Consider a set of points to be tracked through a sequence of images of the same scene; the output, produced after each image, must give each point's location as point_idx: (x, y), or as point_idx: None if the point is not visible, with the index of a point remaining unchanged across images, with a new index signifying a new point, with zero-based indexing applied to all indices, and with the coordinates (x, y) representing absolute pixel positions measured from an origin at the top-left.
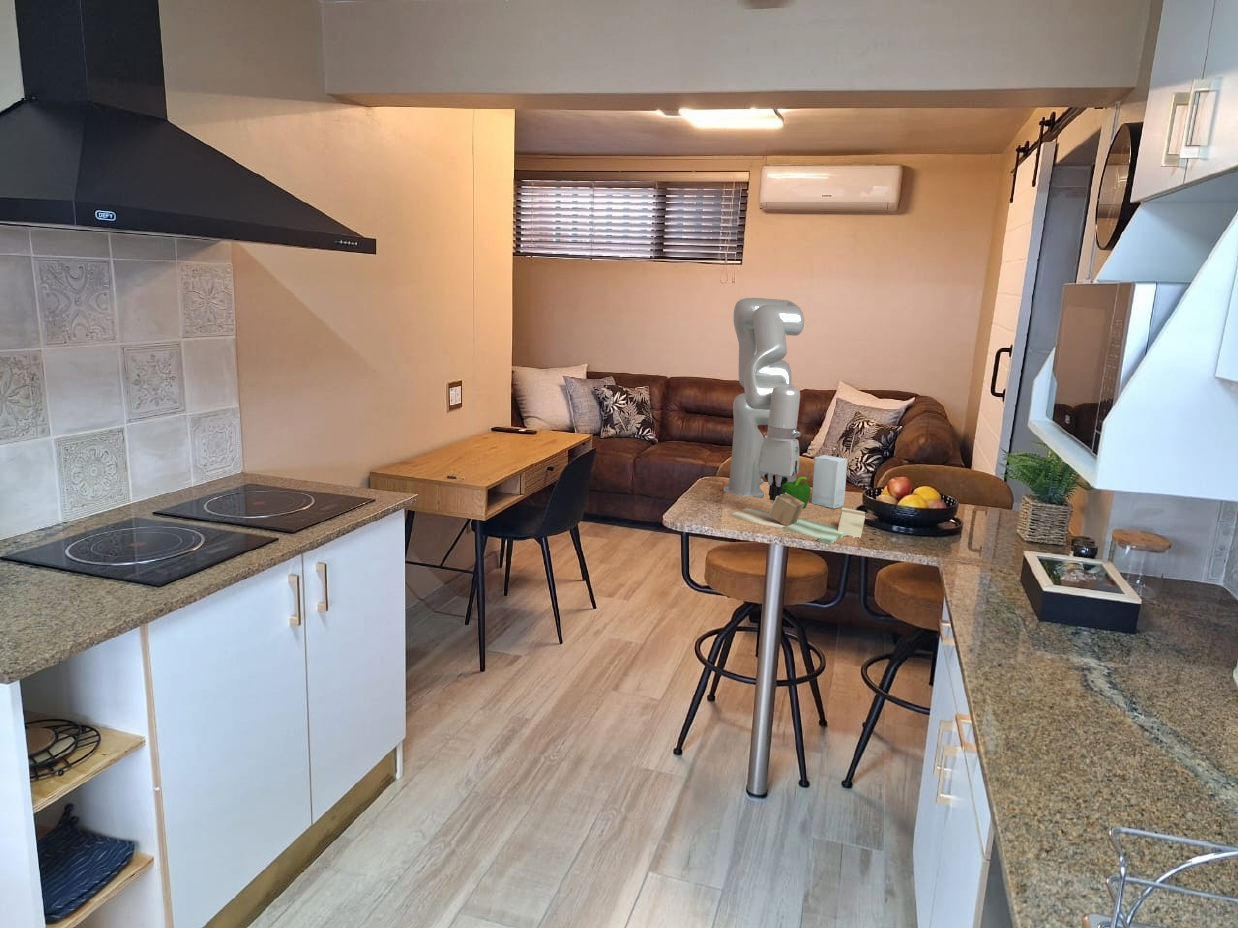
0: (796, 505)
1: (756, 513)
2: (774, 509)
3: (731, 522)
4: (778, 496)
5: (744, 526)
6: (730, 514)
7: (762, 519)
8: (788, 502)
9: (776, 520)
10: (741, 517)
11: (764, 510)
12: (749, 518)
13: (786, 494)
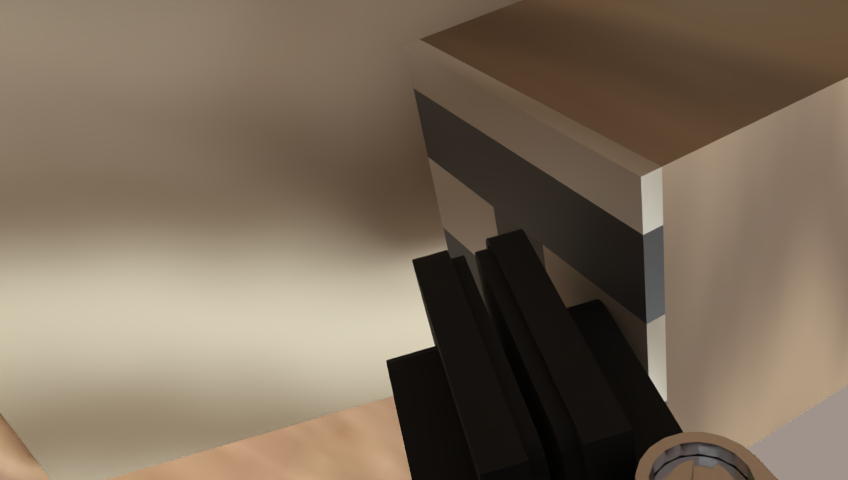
0: None
1: (79, 119)
2: None
3: (177, 464)
4: None
5: (338, 439)
6: (15, 426)
7: (345, 249)
8: (826, 383)
9: None
10: (173, 396)
11: None
12: (244, 349)
13: (685, 226)
